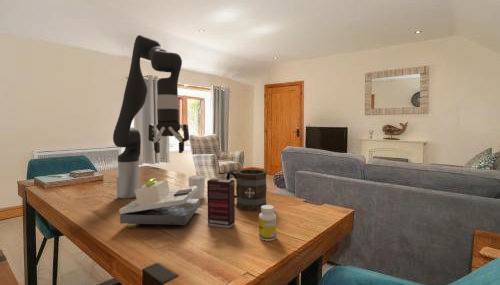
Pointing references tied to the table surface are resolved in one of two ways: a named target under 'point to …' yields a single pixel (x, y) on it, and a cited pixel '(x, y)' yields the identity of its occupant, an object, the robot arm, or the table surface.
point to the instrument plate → (158, 196)
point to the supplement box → (221, 202)
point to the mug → (250, 189)
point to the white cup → (199, 182)
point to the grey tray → (162, 215)
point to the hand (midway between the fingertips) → (169, 152)
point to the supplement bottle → (267, 223)
